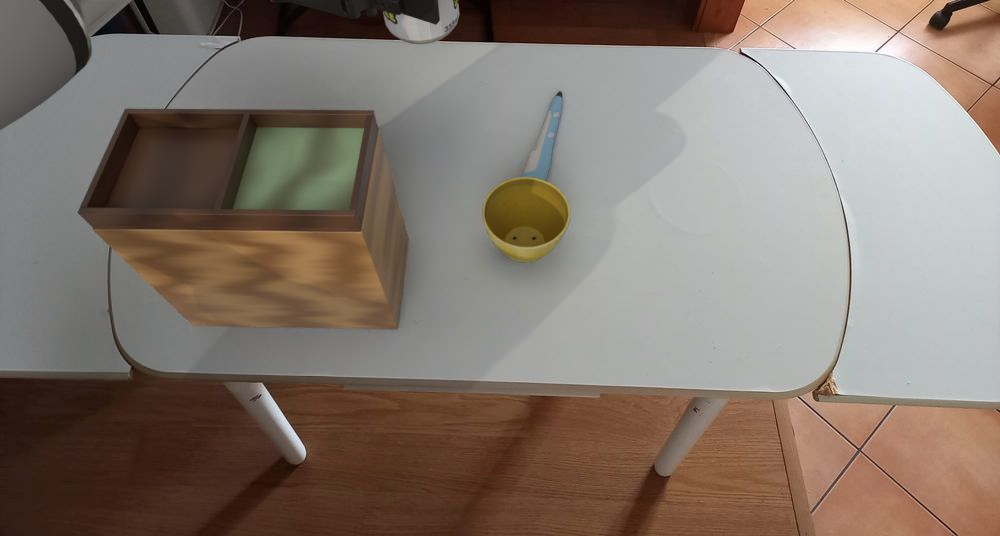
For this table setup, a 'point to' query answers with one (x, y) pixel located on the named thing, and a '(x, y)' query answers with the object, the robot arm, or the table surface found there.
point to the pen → (544, 143)
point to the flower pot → (526, 217)
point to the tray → (234, 170)
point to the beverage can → (424, 24)
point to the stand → (281, 268)
